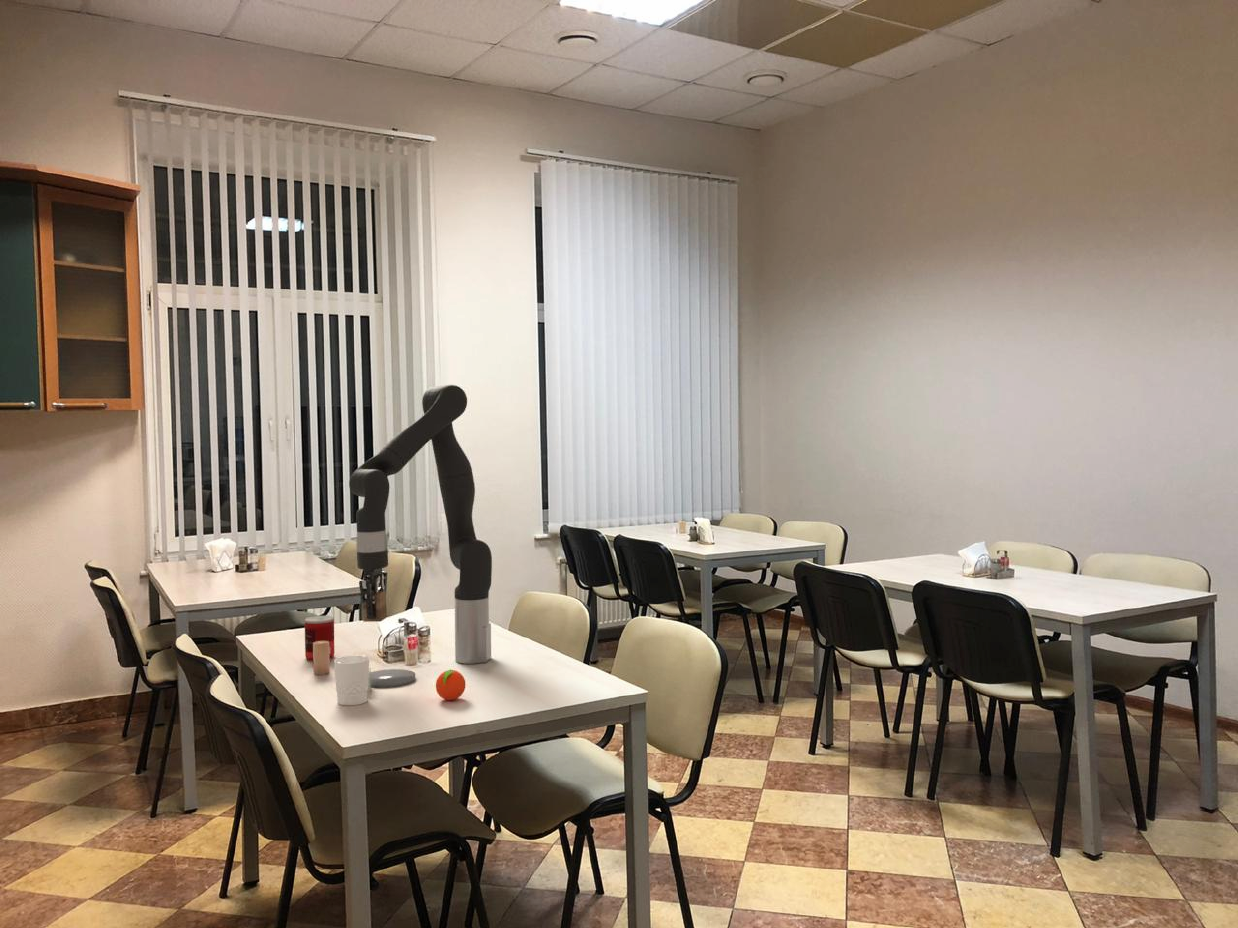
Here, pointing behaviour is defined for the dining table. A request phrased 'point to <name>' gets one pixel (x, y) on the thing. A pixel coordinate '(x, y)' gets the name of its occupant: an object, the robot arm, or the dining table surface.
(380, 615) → the walnut block
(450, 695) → the clementine
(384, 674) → the slate coaster
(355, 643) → the dining table surface
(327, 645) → the cylinder
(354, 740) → the dining table surface
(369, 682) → the sage cube
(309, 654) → the canned food
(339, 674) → the white cup
